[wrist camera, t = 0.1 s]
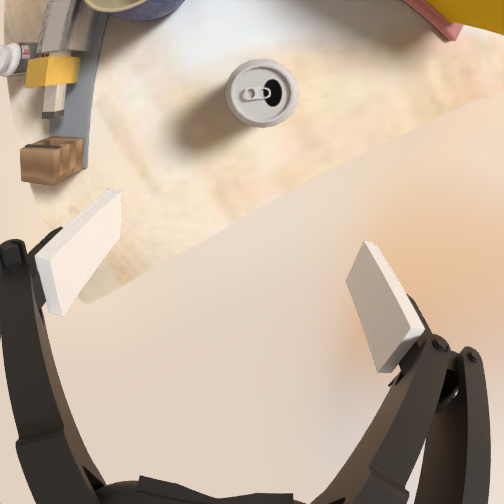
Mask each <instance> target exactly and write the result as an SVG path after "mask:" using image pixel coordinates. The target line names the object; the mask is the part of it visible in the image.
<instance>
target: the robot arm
mask: <svg viewBox="0 0 504 504" xmlns="http://www.w3.org/2000/svg"><path fill="white" fill-rule="evenodd" d="M120 237H121V191H117V190H111V189H108V190H107V191H106V192H104V193H103V194H102V195H101V196H99V197H98V198H97V199H96V200H95V201H93V202H92V203H91V204H90V205H89V206H88V207H86V208H85V209H84V210H83V211H82V212H81V213H79V214H78V215H77V216H76V217H75V218H74V219H73V220H72V221H70V222H69V223H68V224H67V225H66V226H65V227H64V228H62V227H59V228H57V229H55V230H53V231H51V232H50V233H49V234H48V235H47V236H46V237H45V239H43V240H42V241H41V242H40V243H39V244H37V245H36V246H35V247H34V248H33V249H32V250H31V251H30V252H29V253H28V254H27V251H26V247H25V243H24V241H22V240H19V239H11V240H8V241H5V242H3V243H2V244H1V245H0V338H1V337H2V348H3V358H4V366H5V373H6V379H7V385H8V391H9V396H10V400H11V405H12V410H13V415H14V418H15V423H16V426H17V430H18V434H19V439H18V440H17V441H16V451H17V455H18V458H19V461H20V464H21V467H22V469H23V472H24V475H25V478H26V480H27V483H28V486H29V488H30V490H31V492H32V495H33V498H34V500H35V502H36V504H305V503H303V502H300V501H297V500H293V493H289V494H288V493H285V494H276V493H275V494H274V493H270V494H269V493H254V494H249V495H243V496H236V497H228V498H213V497H210V496H207V495H204V494H202V493H199V492H196V491H193V490H191V489H189V488H186V487H184V486H182V485H179V484H176V483H170V482H166V481H161V480H157V479H153V478H149V477H144V476H140V477H139V481H123V482H117V483H113V484H110V485H106V483H105V481H104V479H103V478H102V476H101V474H100V472H99V471H98V469H97V468H96V466H95V464H94V463H93V461H92V460H91V458H90V456H89V454H88V452H87V449H86V447H85V446H84V443H83V441H82V438H81V436H80V434H79V431H78V429H77V427H76V424H75V422H74V419H73V417H72V414H71V411H70V409H69V406H68V403H67V400H66V398H65V395H64V392H63V389H62V386H61V383H60V379H59V376H58V373H57V369H56V366H55V362H54V359H53V355H52V351H51V347H50V343H49V339H48V334H47V330H46V325H45V321H44V315H43V312H42V308H41V307H42V306H43V304H44V303H45V302H46V303H47V307H48V310H49V312H50V313H53V314H56V315H59V316H62V317H64V315H65V314H66V312H67V311H68V309H69V308H70V306H71V305H72V303H73V302H74V300H75V299H76V297H77V296H78V294H79V293H80V291H81V290H82V288H83V287H84V285H85V284H86V283H87V281H88V280H89V278H90V277H91V276H92V274H93V273H94V271H95V270H96V269H97V267H98V266H99V265H100V263H101V262H102V260H103V259H104V258H105V256H106V255H107V254H108V252H109V251H110V250H111V249H112V247H113V246H114V245H115V243H116V242H117V241H118V239H119V238H120ZM346 283H347V286H348V288H349V291H350V294H351V296H352V299H353V302H354V304H355V307H356V310H357V313H358V316H359V318H360V321H361V324H362V327H363V330H364V333H365V336H366V339H367V342H368V345H369V348H370V351H371V354H372V357H373V360H374V363H375V366H376V370H377V372H378V373H379V372H380V373H391V372H392V371H393V370H394V369H395V368H396V366H397V365H398V364H399V366H400V369H401V371H400V372H399V374H398V375H397V376H396V377H395V378H394V379H393V381H392V382H391V383H390V384H389V385H388V386H389V387H390V386H391V385H392V386H391V388H390V390H389V392H388V394H387V396H386V398H385V399H384V401H383V403H382V405H381V407H380V409H379V410H378V412H377V414H376V416H375V417H374V419H373V421H372V423H371V424H370V426H369V428H368V429H367V431H366V432H365V434H364V436H363V437H362V439H361V441H360V442H359V444H358V445H357V447H356V448H355V450H354V451H353V453H352V454H351V456H350V457H349V459H348V460H347V462H346V463H345V465H344V466H343V467H342V469H341V470H340V472H339V473H338V474H337V476H336V477H335V478H334V480H333V481H332V482H331V484H330V485H329V486H328V488H327V489H326V490H325V491H324V492H323V493H322V494H320V495H319V496H318V497H317V498H316V499H315V500H314V501H312V502H311V504H406V503H407V501H408V498H409V492H408V491H407V490H406V489H405V485H406V483H407V481H408V479H409V476H410V474H411V472H412V470H413V468H414V466H415V463H416V461H417V459H418V456H419V454H420V451H421V449H422V446H423V444H424V441H425V439H426V443H425V450H424V456H423V463H422V468H421V473H420V479H419V484H418V489H417V493H416V497H415V501H414V504H488V496H489V485H490V465H491V464H490V463H491V443H490V441H491V440H490V419H489V407H488V397H487V389H486V381H485V375H484V368H483V362H482V359H481V357H480V355H479V353H478V352H477V351H476V350H475V349H473V348H471V347H468V346H467V347H464V348H463V350H462V351H461V352H460V353H456V352H454V351H451V350H450V347H449V344H448V343H447V342H446V340H444V339H443V338H442V337H441V336H438V335H436V334H432V332H431V330H430V328H429V327H428V325H427V323H426V321H425V319H424V317H423V316H422V314H421V312H420V310H419V309H418V306H417V305H416V303H415V301H414V300H413V299H412V298H411V297H410V296H409V295H408V294H406V293H405V291H404V289H403V288H402V286H401V284H400V283H399V281H398V279H397V278H396V276H395V274H394V272H393V271H392V269H391V268H390V266H389V264H388V263H387V261H386V259H385V258H384V256H383V255H382V253H381V251H380V250H379V248H378V247H377V245H376V244H375V243H371V242H367V241H363V244H362V246H361V248H360V250H359V253H358V255H357V257H356V260H355V262H354V264H353V266H352V268H351V270H350V273H349V275H348V277H347V279H346ZM457 391H458V393H457V395H456V397H455V393H456V392H457Z"/></svg>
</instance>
